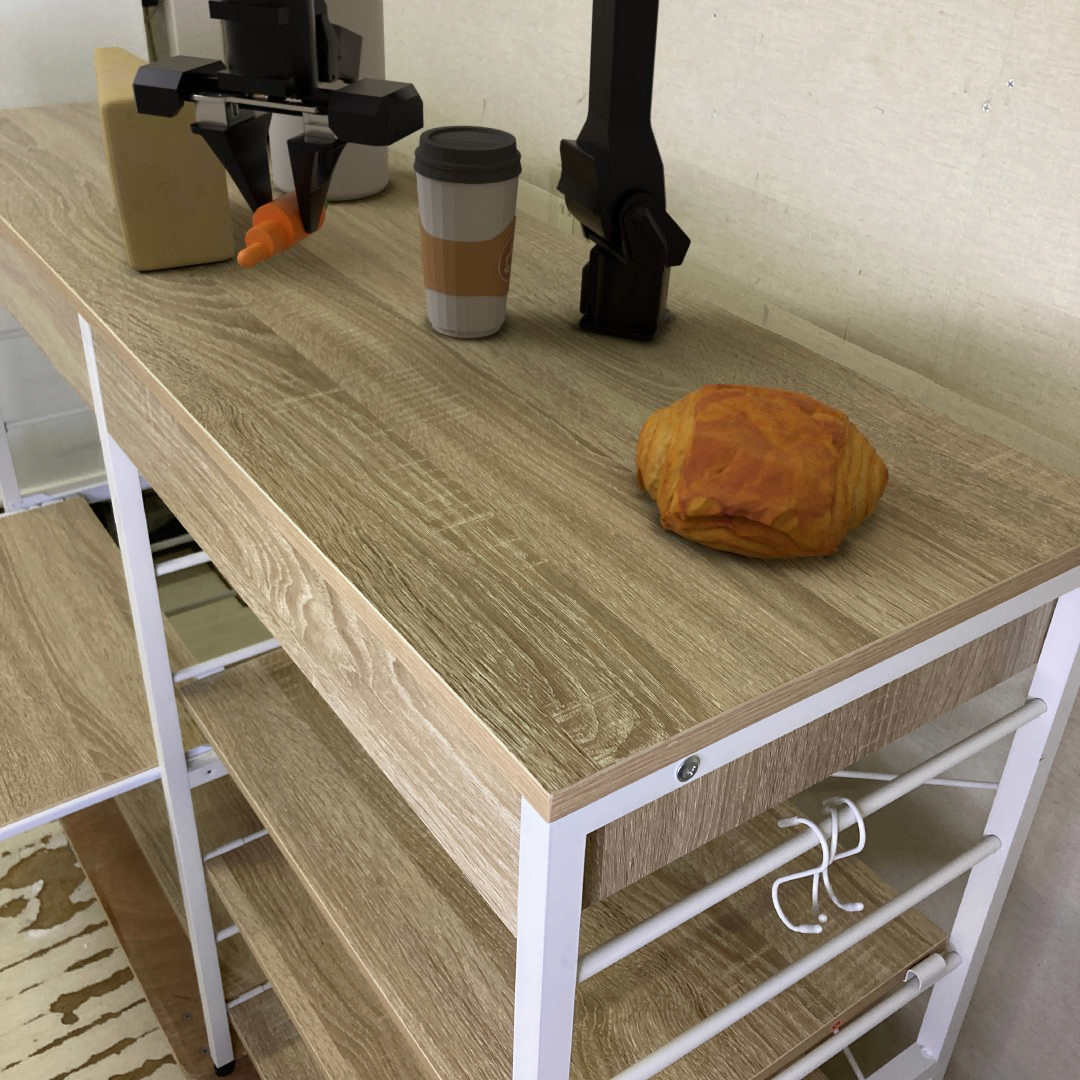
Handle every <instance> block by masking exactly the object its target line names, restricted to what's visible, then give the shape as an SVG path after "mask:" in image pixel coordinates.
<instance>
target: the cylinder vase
mask: <svg viewBox="0 0 1080 1080" xmlns="http://www.w3.org/2000/svg"><path fill="white" fill-rule="evenodd" d="M325 2H326V4H327V11H328V19H329V22H330V23H333V24H336V25H339V26H342V27H344V28H346V29H348V30H350V31H352V32H354V33H356V34H359V35H361V36H362V37H363V44H362V54H361V64H360V73H359V80H362V79H364V78H372V79H380V80H386V55H385V23H384V21H385V20H384V19H385V18H384V0H325ZM347 85H350V84H345V83H344V82H343V81H342V80H337V81H335V82H332V83H321V84H320V87H321V88H324V89H332V90H337V89H340V88H342V87H345V86H347ZM266 98H268V97H267V96H266ZM287 100H289V101H295V102H300V103H301V99H300V100H296V99H290V98H287ZM303 132H304V123H303V117H299V116H292V115H284V114H277V113H273V115H272V119H271V123H270V127H269V134H268V136H269V147H270V148H269V149H270V159H271V170H272V179H273V180H272V181H273V182H274V185H275V187H277V188H278V189H279V190H280V191H281V192H283V193H284V194H286V193H288V192H290V191H292V190H295V185H294V180H293V174H292V168H291V163H290V157H289V152H288V146H287V140H288V139H290V138H292V137H294V136H297V135H299V134H301V133H303ZM389 176H390V175H389V146H379V147H376V146H369V145H362V144H355V143H347V145H346V146H345V148H344V149H343V151H342V153H341V155H340V157H339V159H338V162H337V164H336V167H335V169H334V172H333V175H332V178H331V182H330V185H329V189H328V193H327V196H326V200H327V202H341V201H352V200H359V199H364V198H367V197H371V196H374V195H376V194H378V193H380V192H382V191H383V190H384V189H385V188H386V187H387V185H388V183H389Z"/></svg>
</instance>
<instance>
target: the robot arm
mask: <svg viewBox="0 0 1080 1080" xmlns="http://www.w3.org/2000/svg"><path fill="white" fill-rule="evenodd" d="M207 4H208V11H209V18H210V19H211V20H212V19H213V20H221V21H222V22H223V24H222V25H223V29H224V30H223V32H224V40H225V41H224V42H225V48H226V58H227V66H226V64H225V62H223V60H222V59H216V58H209V57H208V58H207V57H199V56H198V57H197V56H190V55H183V54H178V55H174V56H171V57H168V58H163V59H160V60H157V61H154V62H151V63H150V62H149V63H150V64H147V65H143V66H140V67H139V69H138V71H137V73H136V75H135V78H134V81H133V84H132V89H133V95H134V101H135V107H136V111H137V113H140V114H147V115H154V116H161V117H169V118H172V117H174V116H176V115H177V114H178V113H179V111H180V110H181V109H182V107H183V106H184V101H188V102H194V107H195V114H196V121H197V122H195V123H192V124H190V129H191V132H192V133H193V134H198V135H201V136H202V137H203V139H204V140H205V141H206V143H207V144H208V145H209V147H210V148H211V149H212V151H213V152H214V154H215V155H216V156H217V158H218V159H219V160H220V162H221V163H222V165H223V166H224V167H225V171H226V172H227V173H228V176H230V178H231V179H232V181H233V183H234V184H235V186H236V187H237V189H238V191H239V192H240V194H241V196H242V197H243V199H244V201H245V202H246V204H247V206H248V207H249V209H250V211H251V213H252V214H253V215H254V214H255V212H256V210H257V209H258V208H260V207H261V206H263V205H265V204H267V203H269V202H271V201H273V200H274V197H273V188H272V180H271V171H270V164H269V163H270V162H269V155H268V145H267V139H268V136H269V134H268V131H269V127H270V123H271V119H272V115H273V113H277V114H284V115H292V116H299V117H303V123H304V132H303V133H301V134H299V135H297V136H294V137H292V138H290V139H288V140H287V146H288V152H289V157H290V163H291V168H292V174H293V180H294V185H295V191H296V197H297V203H298V208H299V214H300V218H301V221H302V224H303V227H304V231H305V233H308V234H311V233H313V232H315V231H316V230H317V228H318V225H319V221H320V218H321V214H322V211H323V207H324V203H325V200H326V196H327V193H328V189H329V185H330V182H331V178H332V175H333V172H334V169H335V167H336V164H337V162H338V159H339V157H340V155H341V153H342V151H343V149H344V148H345V146H346V145H347V143H355V144H362V145H369V146H376V147H379V146H388V147H390V146H392V145H393V144H395V143H397V142H399V141H401V140H403V139H405V138H406V137H409V136H410V135H412V134H414V133H416V132H418V131H420V130H422V129H424V127H425V126H424V124H425V123H424V101H423V99H422V97H421V95H420V93H419V92H418V90H417V88H416V87H415V85H414V84H413V83H412V82H405V81H398V80H397V81H396V80H387V79H385V80H380V79H372V78H364V79H362V80H359V73H360V64H361V54H362V44H363V37H362V36H361V35H359V34H356V33H354V32H352V31H350V30H348V29H346V28H344V27H342V26H339V25H336V24H333V23H330V22H329V19H328V11H327V4H326V2H325V0H208V3H207ZM591 6H592V8H591V9H592V10H591V31H590V32H591V33H590V55H589V56H590V58H589V79H588V82H589V83H588V102H587V103H588V105H587V115H586V119H585V121H584V123H583V126H582V127H581V130H580V132H579V134H578V135H577V137H576V139H568V138H562V139H560V142H559V158H560V164H561V165H560V166H561V169H560V176H559V180H558V182H557V185H556V190H557V191H558V192H559V193H561V194H563V195H564V203H565V206H566V210H567V211H568V212H569V213H570V215H572V216H573V217H574V218H575V220H576V221H578V222H579V225H580V227H581V231H582V235H583V237H584V239H586V240H590V241H591V242H592V243H594V244H595V245H594V246H593V247H591V249H590V250H589V259H588V261H587V262H586V263H585V264H584V265H583V266H582V268H581V281H580V293H579V313H580V315H582V317H581V318H580V319H579V320H578V325H577V327H578V328H579V329H581V330H585V331H592V332H597V333H603V334H606V335H607V334H608V335H612V336H613V335H614V336H619V337H625V338H629V339H636V340H640V341H647V342H652V341H654V340H655V339H656V337H657V336H658V334H659V333H660V331H661V330H662V329H663V327H664V325H665V324H666V323H667V320H668V319H669V318H670V316H671V309H669V308H668V307H667V306H668V305H667V304H668V296H669V286H670V279H671V278H670V276H671V270H672V268H673V267H679V266H682V264H683V263H684V260H685V258H686V255H687V253H688V251H689V248H690V246H691V244H692V240H691V238H690V237H689V236H688V234H687V233H685V231H684V230H683V229H682V228H681V227H680V225H679V224H678V223H677V222H676V221H675V219H674V218H673V217H672V216H671V215H670V214H669V213H668V211H667V190H666V178H665V166H664V162H663V159H662V155H661V152H660V148H659V146H658V143H657V139H656V136H655V133H654V130H653V126H652V107H653V95H654V94H653V93H654V91H653V90H654V81H655V79H654V78H655V66H656V52H657V51H656V50H657V37H658V25H659V24H658V23H659V11H660V9H659V8H660V0H592V5H591ZM337 80H342V81H343V82H344V83H345V84H350V85H347V86H345V87H342V88H340V89H337V90H332V89H324V88H321V87H320V84H321V83H332V82H335V81H337ZM253 93H254V94H253ZM256 94H259V95H264V96H267V97H268V98H263V97H258V96H255V97H254V95H256ZM287 98H290V99H296V100H300V99H301V103H300V102H295V101H289V100H287ZM316 232H317V231H316ZM316 232H315V233H316ZM313 234H314V233H313Z"/></svg>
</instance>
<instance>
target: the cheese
mask: <svg viewBox="0 0 1080 1080" xmlns="http://www.w3.org/2000/svg"><path fill="white" fill-rule="evenodd" d="M93 59H94V60H93V61H94V63H93V64H94V70H95V77H96V88H97V89H96V91H97V93H96V94H97V104H98V105H97V106H98V111H99V113H98V114H99V122H100V129H101V137H102V144H103V145H102V146H103V151H104V155H105V156H104V157H105V162H106V167H107V170H108V175H109V180H110V183H111V189H112V194H113V199H114V203H115V208H116V212H117V216H118V222H119V225H120V230H121V234H122V239H123V242H124V243H123V244H124V246H125V252H126V256H127V260H128V264H129V266H130V268H131V269H132V270H135V271H139V272H140V271H141V272H144V271H156V270H164V269H171V268H178V267H188V266H195V265H202V264H203V265H204V264H209V263H216V262H223V261H227V260H229V259H231V258H232V257H233V256H234V255H235V242H234V241H235V240H234V230H233V229H234V228H233V219H232V213H231V212H232V211H231V205H230V198H229V189H228V182H227V173H226V172H227V170H226V169H225V167H224V166H223V165H222V163H221V162H220V160H219V159H218V158H217V156H216V155H215V154H214V152H213V151H212V149H211V148H210V147H209V145H208V144H207V143H206V141H205V140H204V139H203V137H202V136H201V135H198V134H193V133H192V132H191V129H190V124H192V123H195V122H197V121H196V114H195V107H194V102H188V101H184V106H183V107H182V109H181V110H180V111H179V113H178V114H177V115H176V116H174V117H172V118H169V117H161V116H154V115H147V114H140V113H137V111H136V107H135V101H134V95H133V89H132V84H133V81H134V78H135V75H136V73H137V71H138V69H139V67H140V66H143V65H147V64H150V62H148V61H147V60H144V59H143V58H141V57H138V56H136V55H135V54H133V53H131V52H130V51H128V50H126V49H124V48H122V47H119V46H103V47H102V46H101V47H97V48H96V49H95V50H94V54H93Z"/></svg>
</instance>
